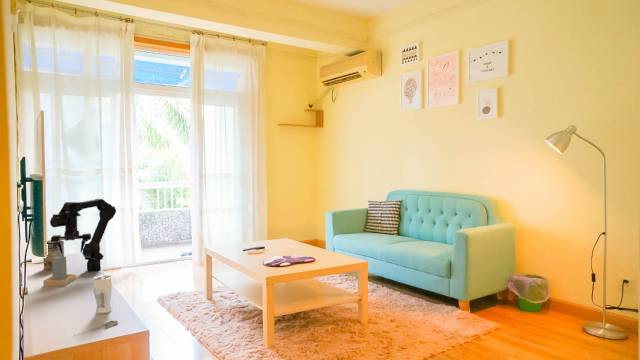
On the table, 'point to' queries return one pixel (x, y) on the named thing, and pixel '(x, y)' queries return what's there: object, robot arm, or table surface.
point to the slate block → (59, 268)
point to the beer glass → (102, 294)
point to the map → (109, 324)
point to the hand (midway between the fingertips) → (71, 253)
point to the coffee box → (52, 254)
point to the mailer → (60, 281)
